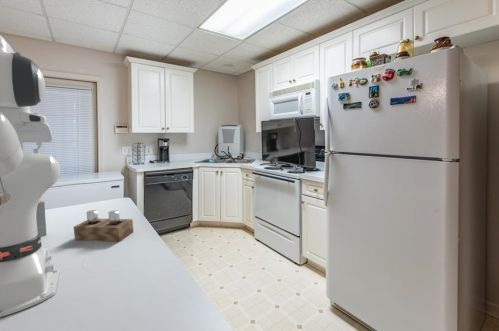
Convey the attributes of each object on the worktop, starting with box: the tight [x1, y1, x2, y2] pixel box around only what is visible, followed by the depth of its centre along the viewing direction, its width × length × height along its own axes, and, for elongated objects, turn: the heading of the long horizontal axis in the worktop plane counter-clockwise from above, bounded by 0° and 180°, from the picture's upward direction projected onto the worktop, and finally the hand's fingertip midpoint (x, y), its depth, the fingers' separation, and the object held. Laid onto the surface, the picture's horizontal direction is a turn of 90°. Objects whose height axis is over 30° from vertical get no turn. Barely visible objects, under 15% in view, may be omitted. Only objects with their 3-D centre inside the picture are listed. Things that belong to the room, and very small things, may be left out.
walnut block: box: [73, 218, 134, 243], centre depth 109 cm, size 20×10×6 cm, turn 84°
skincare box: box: [36, 199, 48, 238], centre depth 110 cm, size 8×7×16 cm
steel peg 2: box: [107, 209, 121, 225], centre depth 108 cm, size 4×4×6 cm
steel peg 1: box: [86, 209, 99, 225], centre depth 109 cm, size 4×4×6 cm
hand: (19, 154), depth 92 cm, fingers open, 8 cm apart
